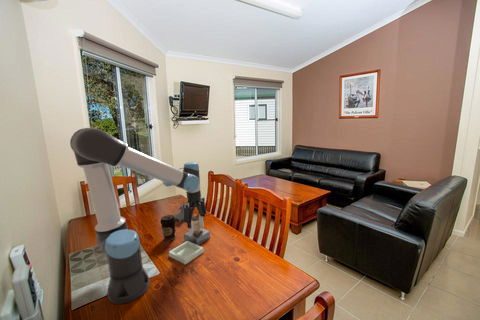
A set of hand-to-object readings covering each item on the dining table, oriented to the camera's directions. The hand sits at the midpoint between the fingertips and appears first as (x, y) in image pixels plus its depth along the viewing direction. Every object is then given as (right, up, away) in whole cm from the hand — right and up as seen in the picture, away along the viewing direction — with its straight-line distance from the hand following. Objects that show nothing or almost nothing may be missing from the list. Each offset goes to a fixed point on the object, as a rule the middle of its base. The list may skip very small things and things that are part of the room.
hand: (196, 229), depth 127 cm
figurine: (-15, -1, +29) cm, 32 cm away
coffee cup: (-16, -6, +3) cm, 17 cm away
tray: (-3, -8, -13) cm, 15 cm away
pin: (0, -5, +1) cm, 6 cm away
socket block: (0, -5, +1) cm, 6 cm away
